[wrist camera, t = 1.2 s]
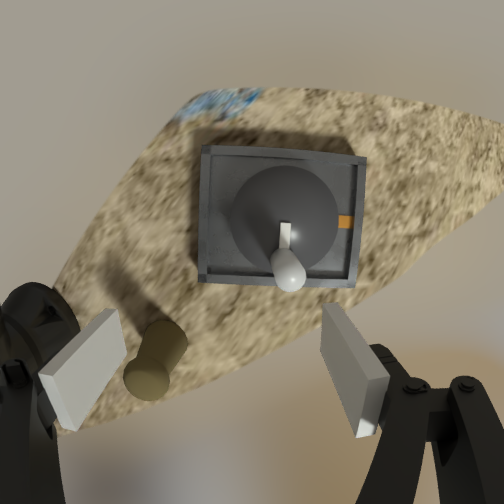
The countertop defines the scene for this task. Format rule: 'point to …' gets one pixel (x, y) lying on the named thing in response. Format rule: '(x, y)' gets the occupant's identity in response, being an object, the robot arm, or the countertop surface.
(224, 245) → the dark grey tray
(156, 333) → the cork
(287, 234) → the lever
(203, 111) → the countertop surface
